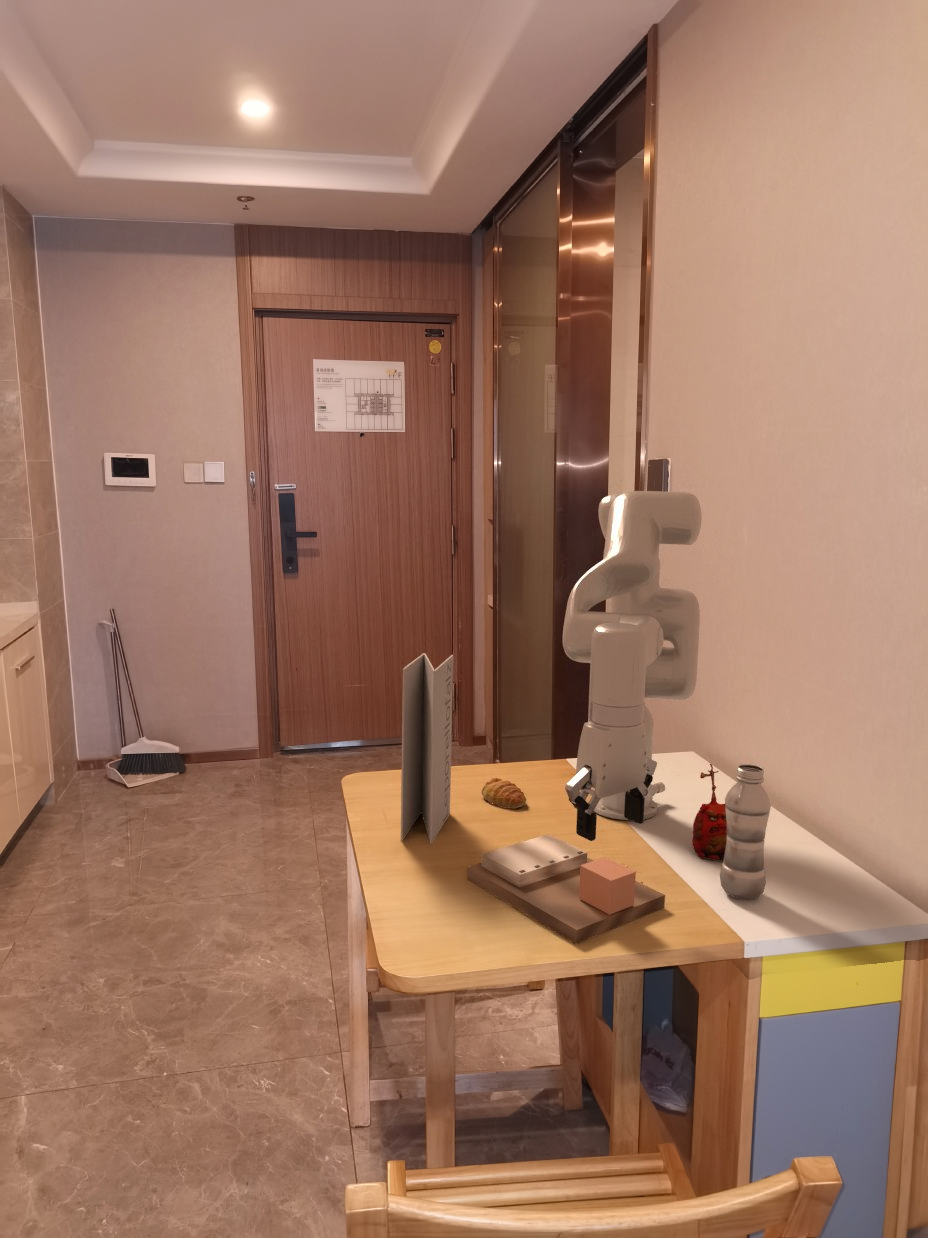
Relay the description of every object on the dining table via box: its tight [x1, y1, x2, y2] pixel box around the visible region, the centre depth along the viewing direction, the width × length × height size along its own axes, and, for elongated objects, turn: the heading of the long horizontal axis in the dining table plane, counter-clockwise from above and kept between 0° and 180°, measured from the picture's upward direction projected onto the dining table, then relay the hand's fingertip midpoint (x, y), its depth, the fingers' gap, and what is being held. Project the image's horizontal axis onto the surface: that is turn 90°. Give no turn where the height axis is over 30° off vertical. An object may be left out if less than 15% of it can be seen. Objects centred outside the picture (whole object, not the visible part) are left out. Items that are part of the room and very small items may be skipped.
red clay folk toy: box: [691, 763, 727, 861], centre depth 150 cm, size 8×7×15 cm
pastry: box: [481, 777, 528, 809], centre depth 173 cm, size 9×7×4 cm
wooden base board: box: [466, 833, 666, 945], centre depth 135 cm, size 18×24×4 cm
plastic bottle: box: [719, 763, 772, 900], centre depth 135 cm, size 6×7×20 cm
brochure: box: [400, 652, 454, 844], centre depth 158 cm, size 14×6×30 cm, turn 168°
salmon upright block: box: [579, 856, 637, 915], centre depth 128 cm, size 5×6×5 cm
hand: (610, 828), depth 128 cm, fingers open, 9 cm apart
